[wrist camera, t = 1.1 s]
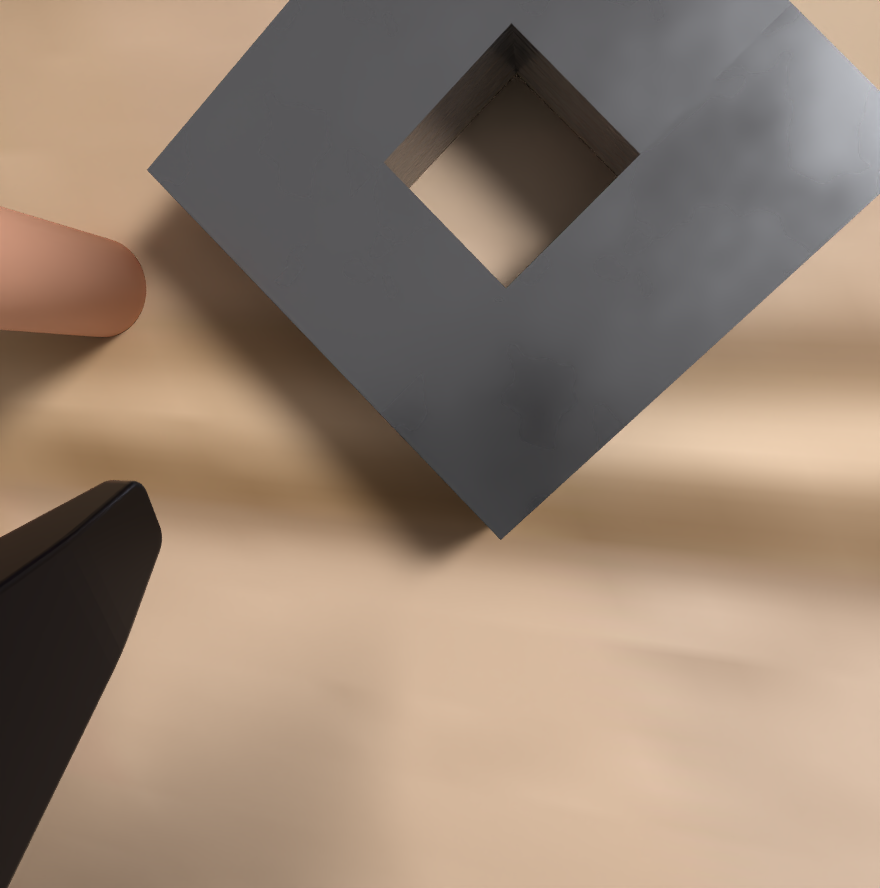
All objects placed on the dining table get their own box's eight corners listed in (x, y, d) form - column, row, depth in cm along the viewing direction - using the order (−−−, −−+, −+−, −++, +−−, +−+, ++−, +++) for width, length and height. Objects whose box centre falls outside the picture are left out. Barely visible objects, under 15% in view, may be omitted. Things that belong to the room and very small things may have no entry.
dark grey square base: (506, 517, 22) (500, 540, 19) (199, 196, 22) (146, 170, 19) (874, 178, 19) (933, 144, 17) (521, -176, 20) (517, -271, 17)
